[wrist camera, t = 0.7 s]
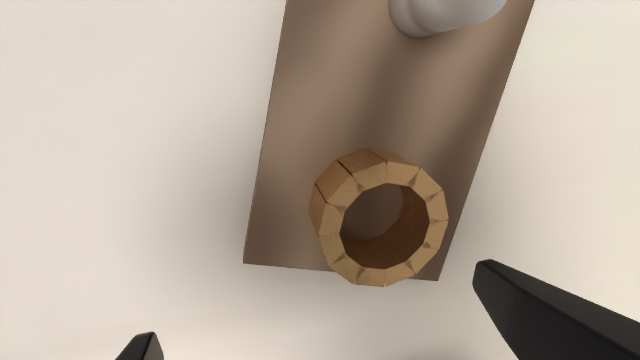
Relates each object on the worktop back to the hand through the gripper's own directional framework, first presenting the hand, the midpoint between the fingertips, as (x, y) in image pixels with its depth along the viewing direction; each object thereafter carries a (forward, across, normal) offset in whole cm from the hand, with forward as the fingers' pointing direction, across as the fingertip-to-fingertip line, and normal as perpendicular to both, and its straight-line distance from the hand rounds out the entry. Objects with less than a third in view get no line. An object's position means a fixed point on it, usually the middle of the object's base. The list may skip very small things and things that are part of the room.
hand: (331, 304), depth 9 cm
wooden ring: (+11, -5, +4) cm, 12 cm away
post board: (+13, -7, -2) cm, 15 cm away
